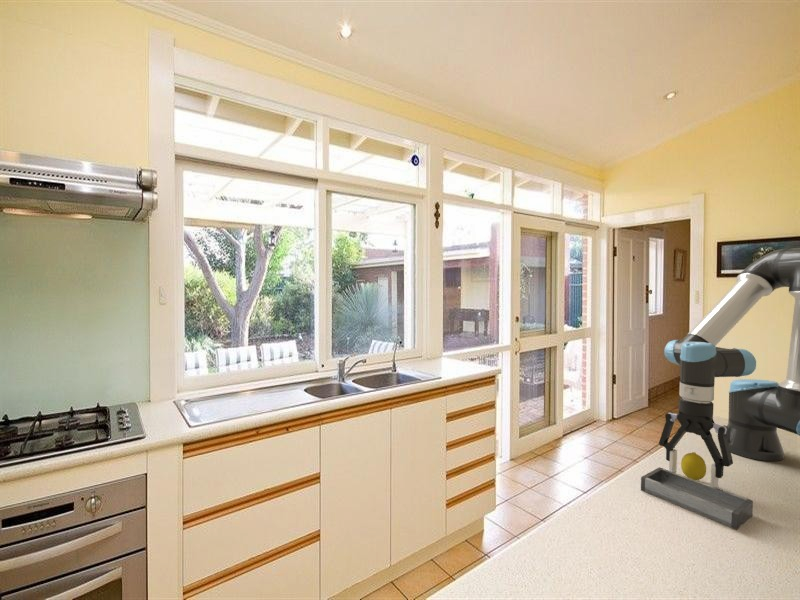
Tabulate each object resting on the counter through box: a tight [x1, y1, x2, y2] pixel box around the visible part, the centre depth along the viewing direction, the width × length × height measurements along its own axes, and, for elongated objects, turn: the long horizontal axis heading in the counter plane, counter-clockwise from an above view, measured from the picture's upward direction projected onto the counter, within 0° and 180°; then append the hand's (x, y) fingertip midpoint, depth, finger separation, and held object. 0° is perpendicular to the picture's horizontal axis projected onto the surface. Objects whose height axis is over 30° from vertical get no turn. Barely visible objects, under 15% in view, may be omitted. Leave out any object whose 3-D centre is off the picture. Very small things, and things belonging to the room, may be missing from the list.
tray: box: [640, 467, 754, 531], centre depth 98 cm, size 10×20×4 cm, turn 33°
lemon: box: [680, 451, 707, 481], centre depth 108 cm, size 6×6×8 cm
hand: (692, 480), depth 108 cm, fingers open, 9 cm apart
